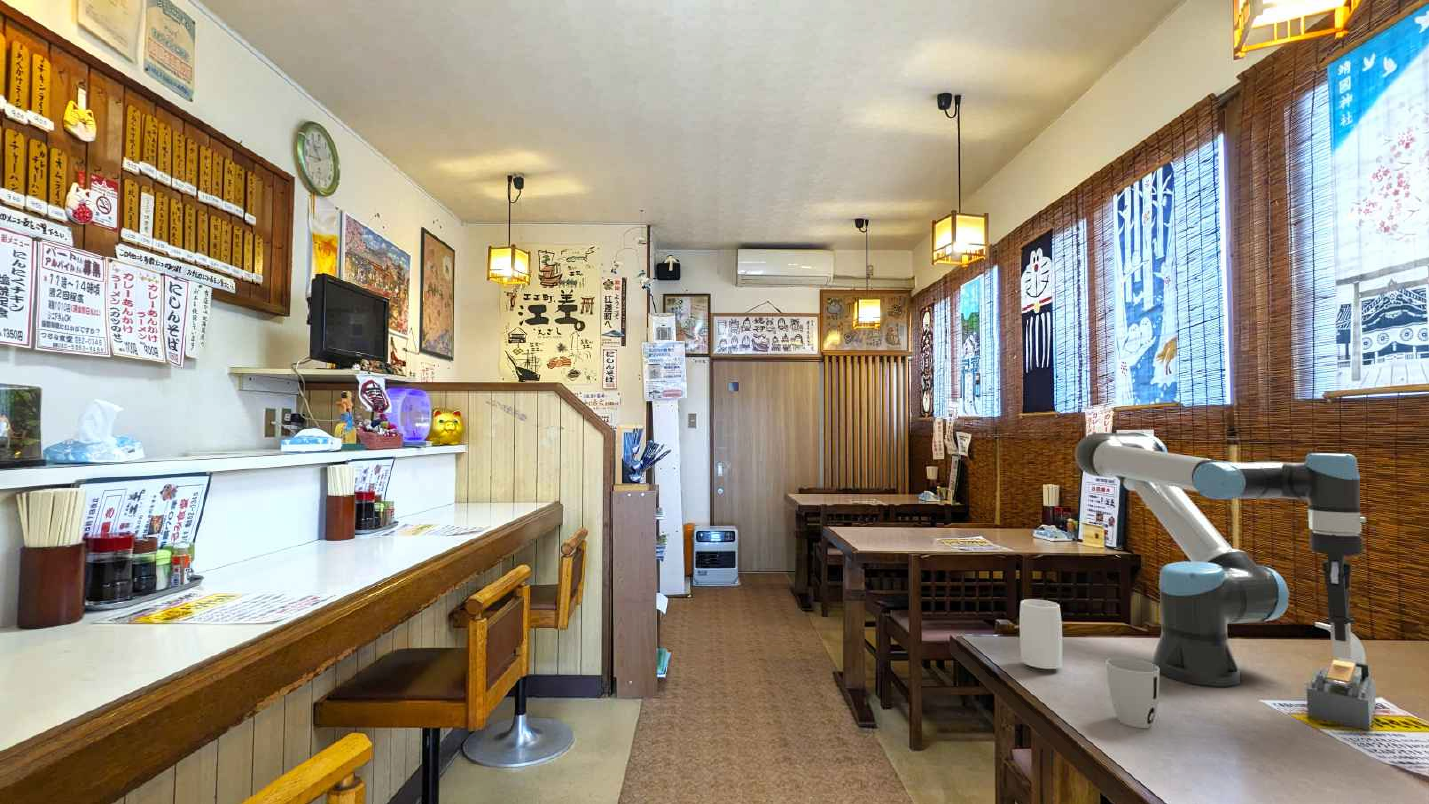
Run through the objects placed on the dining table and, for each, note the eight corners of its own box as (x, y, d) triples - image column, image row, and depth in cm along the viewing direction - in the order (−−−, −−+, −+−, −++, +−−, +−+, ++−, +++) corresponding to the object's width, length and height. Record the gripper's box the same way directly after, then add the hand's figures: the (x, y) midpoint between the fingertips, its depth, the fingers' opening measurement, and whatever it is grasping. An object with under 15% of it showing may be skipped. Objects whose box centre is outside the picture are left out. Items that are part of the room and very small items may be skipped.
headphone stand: (1317, 680, 139) (1314, 622, 140) (1344, 679, 139) (1340, 621, 140) (1340, 688, 134) (1337, 628, 135) (1367, 687, 135) (1364, 627, 135)
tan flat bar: (1349, 686, 119) (1349, 681, 119) (1326, 682, 121) (1326, 676, 121) (1355, 668, 127) (1354, 663, 127) (1334, 664, 130) (1333, 659, 130)
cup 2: (1162, 735, 112) (1160, 675, 113) (1107, 725, 116) (1105, 667, 117) (1160, 719, 119) (1158, 662, 120) (1108, 709, 123) (1106, 654, 124)
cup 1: (1053, 678, 140) (1051, 610, 141) (1014, 667, 146) (1012, 602, 147) (1069, 669, 145) (1067, 603, 146) (1030, 659, 152) (1028, 597, 153)
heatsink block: (1369, 730, 114) (1367, 685, 115) (1308, 716, 120) (1305, 673, 121) (1375, 706, 125) (1373, 665, 126) (1318, 694, 131) (1316, 655, 132)
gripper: (1359, 538, 121) (1367, 669, 119) (1364, 531, 130) (1371, 654, 128) (1305, 534, 126) (1311, 659, 125) (1313, 528, 135) (1319, 645, 134)
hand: (1342, 656), depth 127 cm, fingers closed
